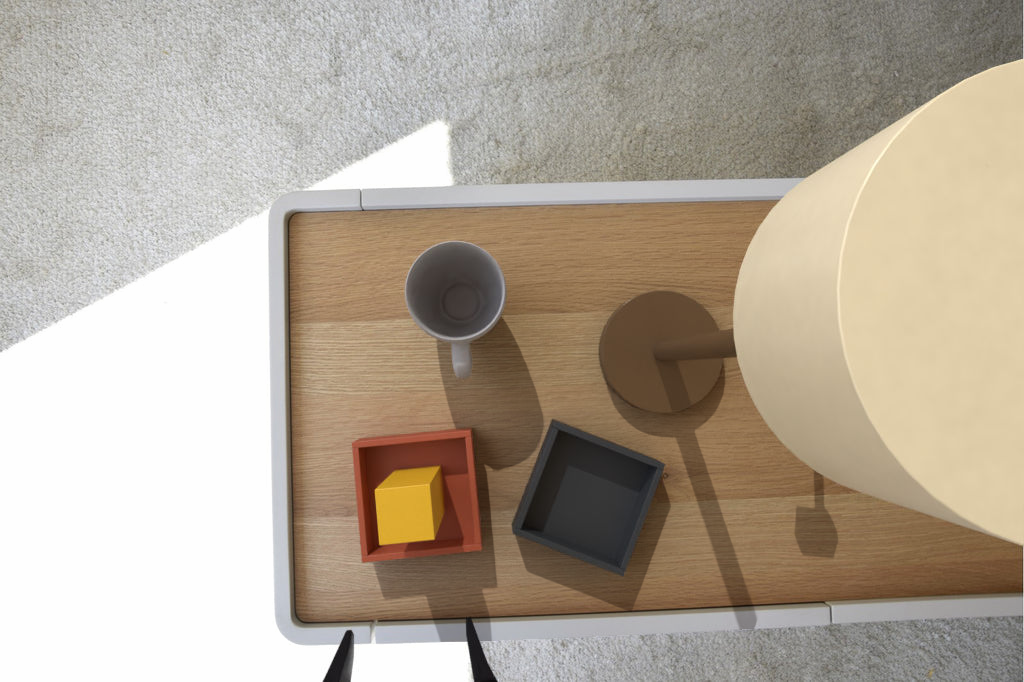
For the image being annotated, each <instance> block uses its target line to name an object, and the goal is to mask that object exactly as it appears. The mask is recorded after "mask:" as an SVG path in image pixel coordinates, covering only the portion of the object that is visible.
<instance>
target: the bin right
mask: <svg viewBox="0 0 1024 682" xmlns="http://www.w3.org/2000/svg"><path fill="white" fill-rule="evenodd" d="M665 467H666V464H665V463H664V462H662V461H660V460H658V459H657V458H654V457H651V456H648V455H647V454H644V453H641V452H639V451H636V450H633V449H631V448H629V447H626V446H624V445H621V444H618V443H616V442H612V441H610V440H608V439H605V438H603V437H600V436H598V435H595V434H593V433H590V432H587V431H585V430H582V429H580V428H577V427H575V426H573V425H570V424H567V423H565V422H562V421H559V420H557V419H554V418H552V419H551V420H550V423H549V426H548V428H547V431H546V433H545V436H544V439H543V442H542V444H541V447H540V448H539V452H538V455H537V457H536V460H535V463H534V465H533V467H532V470H531V473H530V474H529V475H530V476H529V478H528V480H527V483H526V486H525V488H524V491H523V494H522V496H521V499H520V501H519V505H518V506H517V509H516V512H515V514H514V517H513V520H512V522H511V531H512V534H513V535H516V536H518V537H520V538H523V539H526V540H528V541H531V542H534V543H536V544H539V545H541V546H544V547H546V548H549V549H551V550H554V551H556V552H560V553H562V554H564V555H567V556H569V557H572V558H575V559H576V560H579V561H582V562H585V563H587V564H590V565H592V566H595V567H597V568H600V569H603V570H605V571H608V572H610V573H614V574H615V575H618V576H621V577H624V576H625V574H626V571H627V569H628V567H629V563H630V561H631V558H632V555H633V553H634V550H635V547H636V544H637V541H638V539H639V536H640V534H641V532H642V529H643V526H644V523H645V521H646V517H647V515H648V512H649V509H650V507H651V504H652V502H653V499H654V496H655V493H656V491H657V488H658V486H659V483H660V480H661V478H662V474H663V472H664V470H665Z"/></svg>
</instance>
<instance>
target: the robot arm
mask: <svg viewBox="0 0 1024 682" xmlns="http://www.w3.org/2000/svg"><path fill="white" fill-rule="evenodd" d="M465 638H466V643H467V649H468V654H469V660H470V667H471V673H472V678H473V679H472V680H473V682H499V681H498V679H497V678H496V676H495V674H494V672H493V670H492V668H491V666H490V664H489V661H488V659H487V657H486V654H485V652H484V648H483V646H482V643H481V641H480V638H479V636H478V633H477V630H476V627H475V625H474V622H473V619H472V616H466V617H465ZM354 657H355V634H354V631H353V629H346V630H345V632H344V634H343V637H342V639H341V641H340V643H339V645H338V647H337V650H336V652H335V654H334V656H333V658H332V661H331V663H330V665H329V667H328V669H327V672H326V673H325V675H324V678H323V680H322V681H321V682H352V675H353V668H354V667H353V666H354V660H355V659H354Z"/></svg>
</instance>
